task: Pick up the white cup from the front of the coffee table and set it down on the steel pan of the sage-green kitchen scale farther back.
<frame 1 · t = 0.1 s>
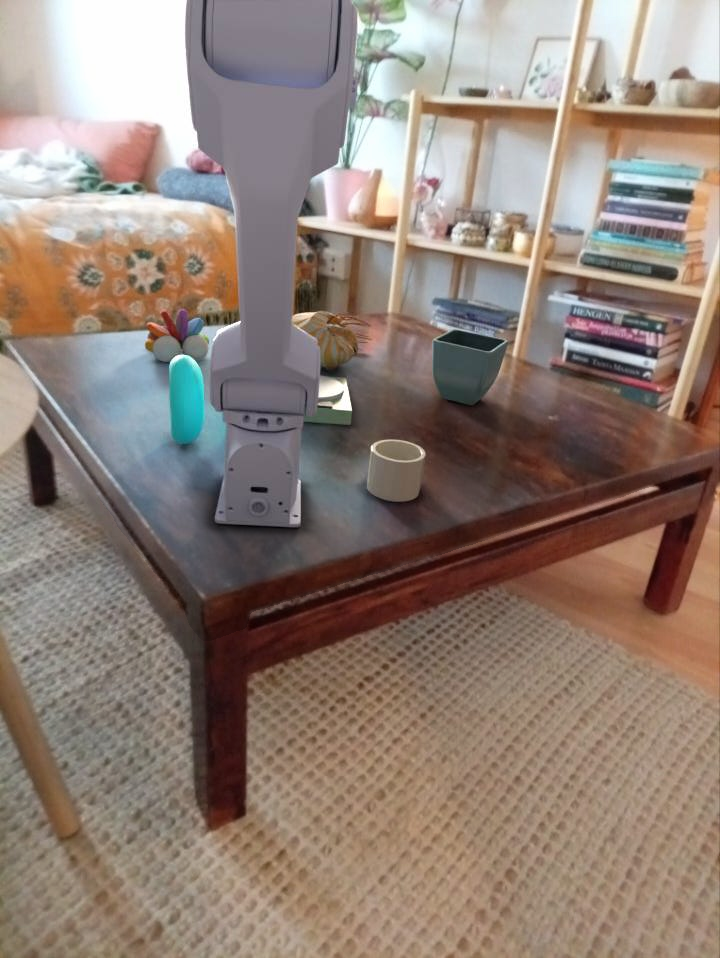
hand: (285, 142, 81), 32 cm above the table, tool tilted 50°, fingers open, 7 cm apart
nautilus: (330, 363, 114), on the table
rainbow peacock toy: (177, 357, 109), on the table
teal upright capsule: (214, 441, 83), on the table
scale: (307, 404, 96), on the table
flower pot: (460, 399, 105), on the table
white cup: (393, 489, 76), on the table
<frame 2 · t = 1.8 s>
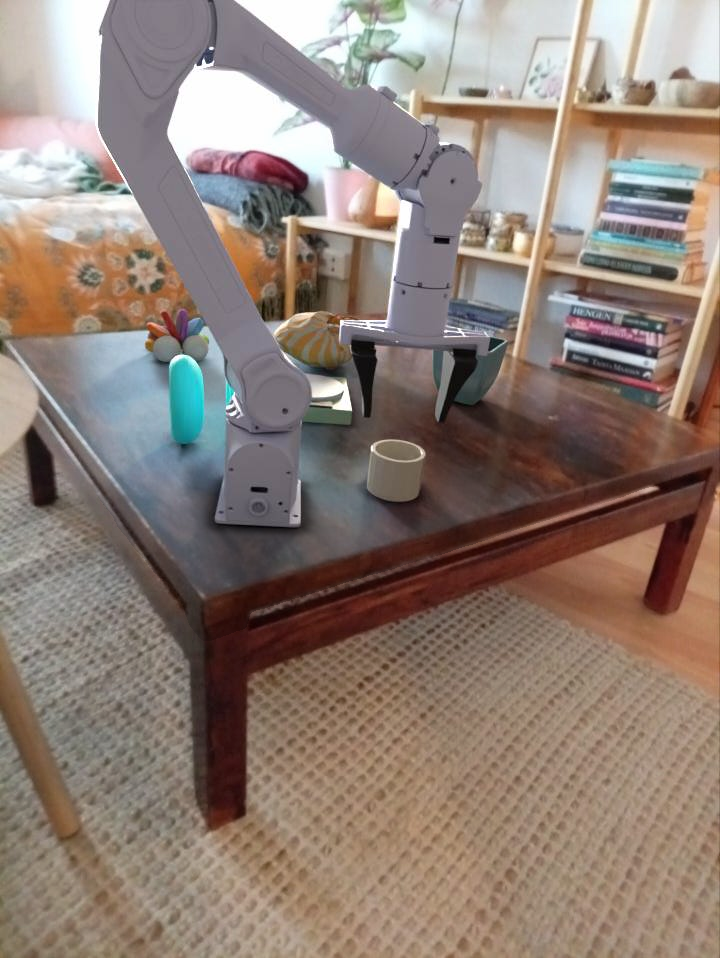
hand: (403, 416, 72), 8 cm above the table, tool pointing down, fingers open, 7 cm apart
nothing on the table moved.
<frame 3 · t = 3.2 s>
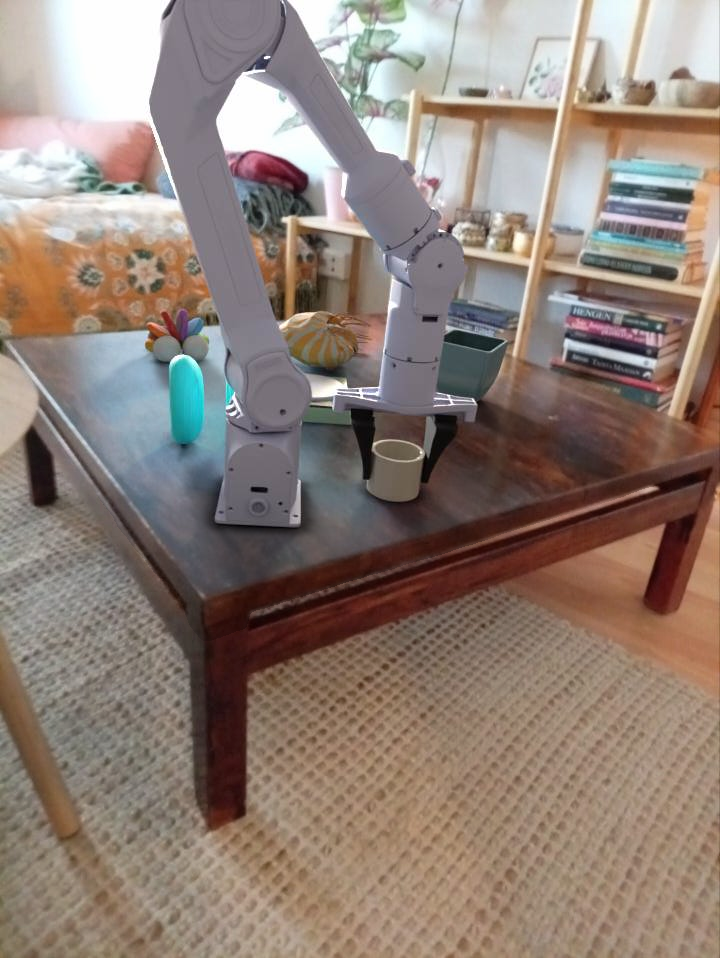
hand: (394, 477, 75), 1 cm above the table, tool pointing down, fingers closed on white cup, 6 cm apart
white cup: (392, 489, 76), on the table, touching gripper
everything else where it was.
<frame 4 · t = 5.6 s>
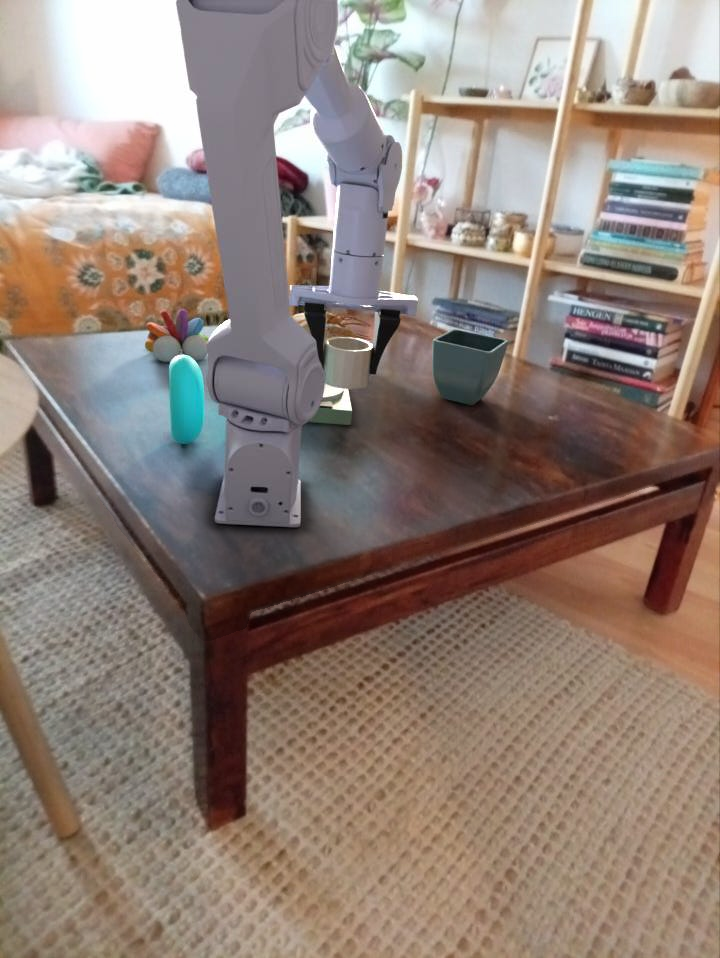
hand: (346, 369, 84), 8 cm above the table, tool pointing down, fingers closed on white cup, 6 cm apart
white cup: (345, 381, 85), point 7 cm above the table, touching gripper
everything else where it was.
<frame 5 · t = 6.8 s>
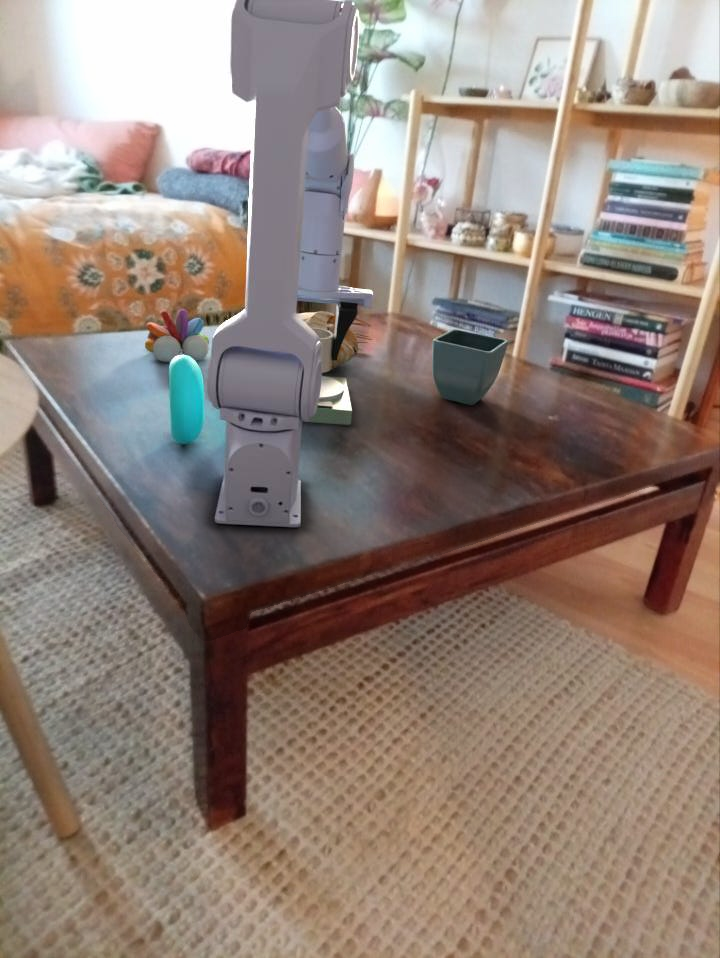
hand: (311, 356, 94), 7 cm above the table, tool pointing down, fingers closed on white cup, 6 cm apart
white cup: (310, 366, 94), point 5 cm above the table, touching gripper
everything else where it was.
when the fingers open (4 cm above the table, at t = 8.1 s): white cup stays where it is, resting on scale.
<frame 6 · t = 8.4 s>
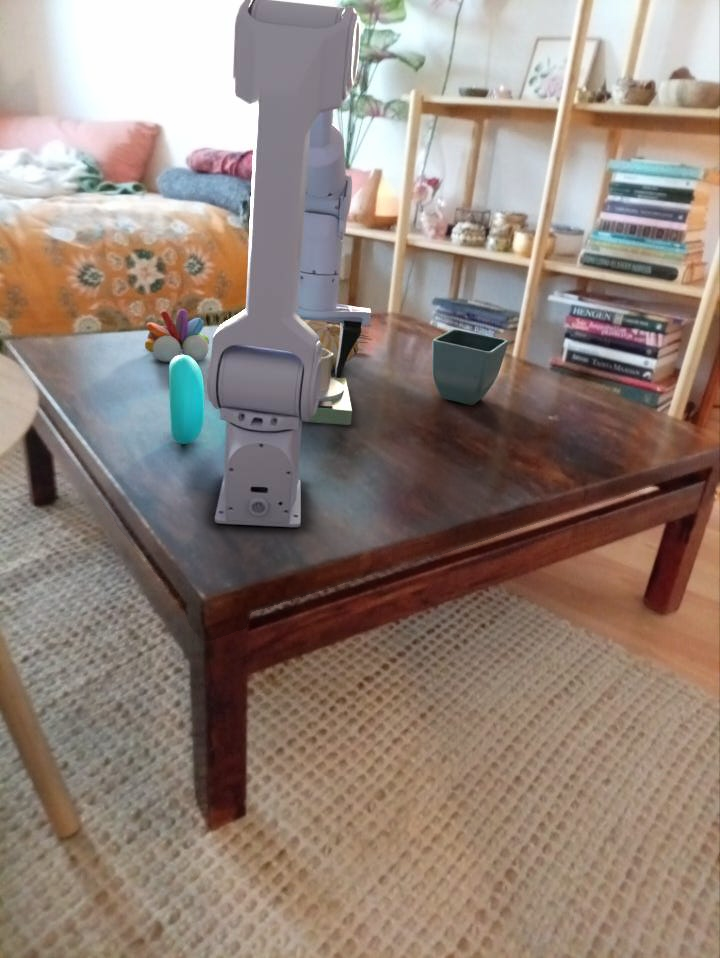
hand: (309, 373, 95), 4 cm above the table, tool pointing down, fingers open, 7 cm apart
white cup: (308, 384, 95), point 3 cm above the table, touching scale
everything else where it was.
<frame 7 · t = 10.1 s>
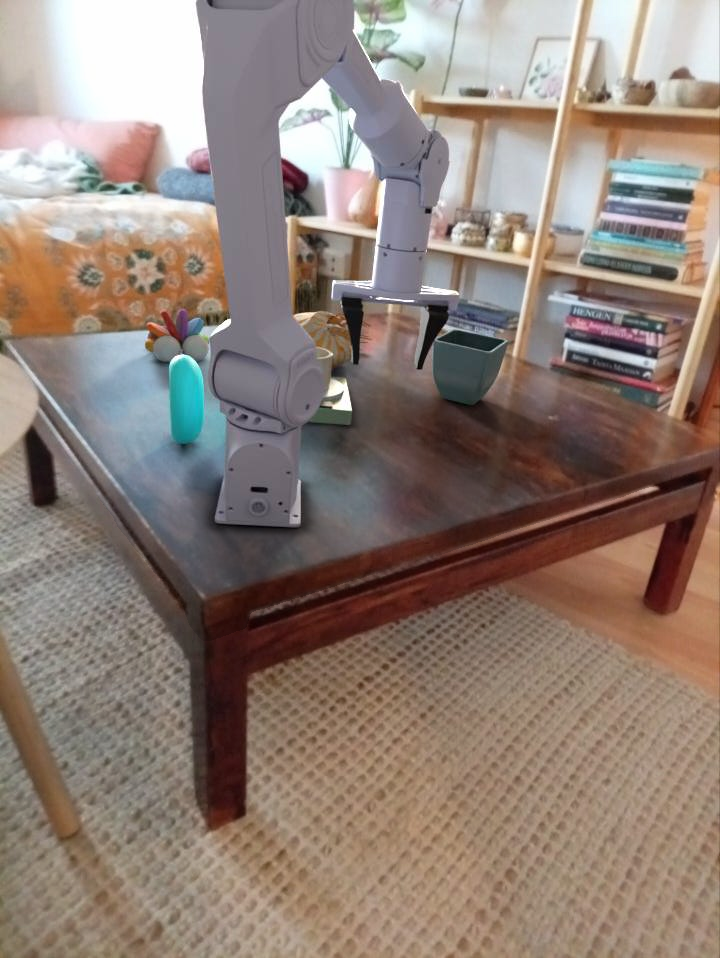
hand: (386, 364, 84), 9 cm above the table, tool pointing down, fingers open, 7 cm apart
nothing on the table moved.
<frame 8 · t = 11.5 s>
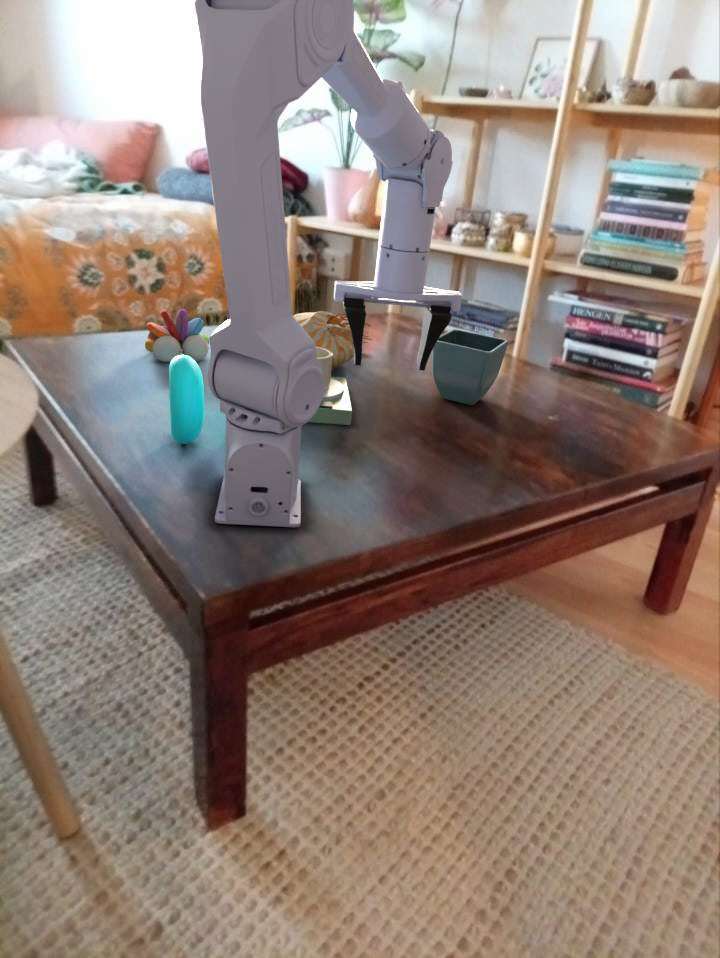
hand: (389, 365, 84), 9 cm above the table, tool pointing down, fingers open, 7 cm apart
nothing on the table moved.
at the end: white cup inside the target area on the scale (0.0 cm from its centre), point 2.6 cm above the scale's base; white cup tilted 0°; the gripper is holding nothing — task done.
